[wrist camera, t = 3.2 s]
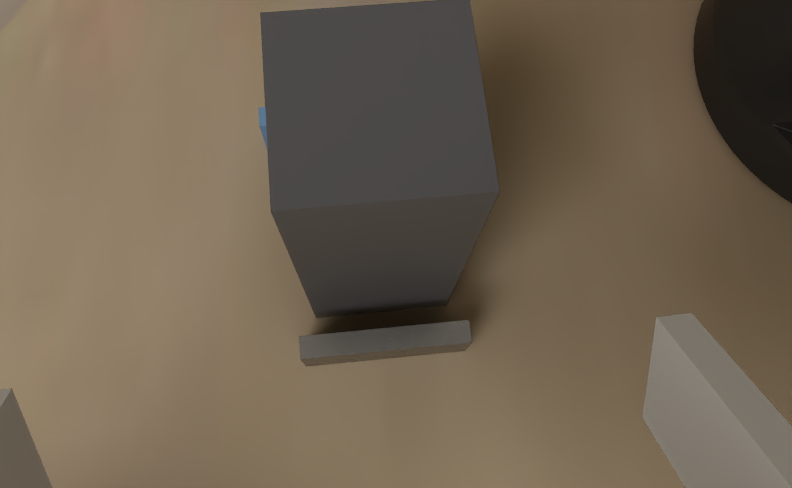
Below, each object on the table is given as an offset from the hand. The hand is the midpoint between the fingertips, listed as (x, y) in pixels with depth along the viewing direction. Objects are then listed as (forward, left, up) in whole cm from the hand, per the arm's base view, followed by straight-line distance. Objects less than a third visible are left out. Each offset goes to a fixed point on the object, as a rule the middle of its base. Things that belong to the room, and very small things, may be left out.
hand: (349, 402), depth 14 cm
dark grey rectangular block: (-1, -7, -11) cm, 13 cm away
